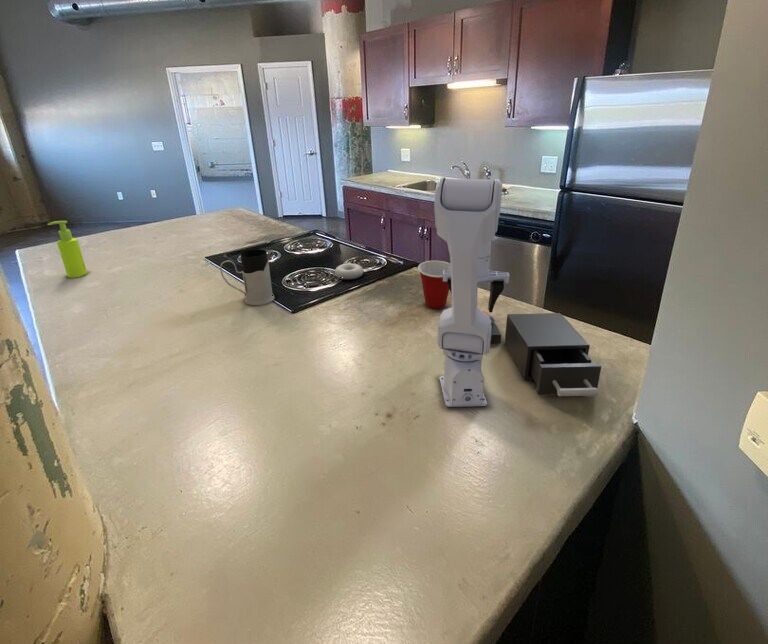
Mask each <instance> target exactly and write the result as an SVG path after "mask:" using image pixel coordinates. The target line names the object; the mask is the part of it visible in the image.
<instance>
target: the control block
mask: <svg viewBox="0 0 768 644" xmlns="http://www.w3.org/2000/svg"><path fill="white" fill-rule="evenodd" d="M489 316H490V320H491V325H492V330H491V341H490V344H492V343H493V344H496V343H502V334H501V333H502V332H501V331H500V330H499V328H498V326H497V324H496V322H495V319H494V317H493V316H492V315H489Z"/></svg>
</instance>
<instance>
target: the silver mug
mask: <svg viewBox="0 0 768 644" xmlns="http://www.w3.org/2000/svg"><path fill="white" fill-rule="evenodd" d="M267 252H268V251H267V250H265V249H261V248H255V249H248V250H245V251H242V252H240V254H239V255H240V262H241V268H242V270H241V271H238V268H237V265H236V263H235V262H234V261H232V260H229V259H227V260H224V261H222V262H221V263H220V266H219V270H220V274H221V277H222V279H223V280H224V281H225V283H226V284H227V285H228V286H229V287H231V288H233V289H235V290H236V291H239V292H240V293H242V294H244V297H245V300H244V303H246V304H247V305H248V306H262V305H266V304H269V303H271V302H273V301H274V300H275V298H276V297H275V295H274V293H273V287H272V279H271V271H270V270H271V269H270V263H269V258H268V253H267ZM225 263H231V264H233V266H234V269H235V272H236V273H237V274H242V280H243V285H244V286H243V287H244V290H242V289H241V288H238V287H236V286H234V285H233V284H231V283H230V282H229V281H228V280H227V279H226V278H225V276H224V274H223V270H222V267H223V265H224V264H225ZM272 295H273V296H272Z"/></svg>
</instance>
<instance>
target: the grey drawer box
mask: <svg viewBox="0 0 768 644" xmlns="http://www.w3.org/2000/svg"><path fill="white" fill-rule="evenodd" d="M504 335H505V336H504V346H505V348H506V350H507V352H508V353H509V355H510V357H511V358H512V359H511V360H512V361H513V362H514V364H515V366H516V367H517V369H518V372H519V373H520V375H521V377H522V378H523V380H524V381H534V379H533V377H532V376H531V374H530V372H529V366H530V358H531V350H540V349H582V350H583V351H584V352H585V353H586V354H587V356H588V357H589V352H590V346H591V345H590V344H589V342H588V341H586V339H585V338H584V337H583V336H582V335H581V333H579V331H578V330H576V329H575V327H574V326H573V325H572V323H570V322H569V320H568V319H566V317H565V316H564V315H563V314H562V313H561V312H549V313H548V312H545V313H544V312H543V313H508V314H507V315H506V324H505V334H504Z"/></svg>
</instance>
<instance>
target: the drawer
mask: <svg viewBox="0 0 768 644" xmlns="http://www.w3.org/2000/svg"><path fill="white" fill-rule="evenodd" d="M601 371H602V365H601V364H600V363H599V362H592V359H591V358H590V356H589V355H588V356H587V354H586V353H585V352H584V351H583V350H582V349H540V350H531V358H530V366H529V372H530V374H531V376H532V377H533V379H534V380H533V381H534V383H535V385H536V387H535V392H536V394H537V395H538V396H554V395H555V396H556V395H557V396H558V397H589V396H590V397H591V396H595V397H596V396H598V395H599V389H598V387H599V381H600V376H601Z"/></svg>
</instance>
